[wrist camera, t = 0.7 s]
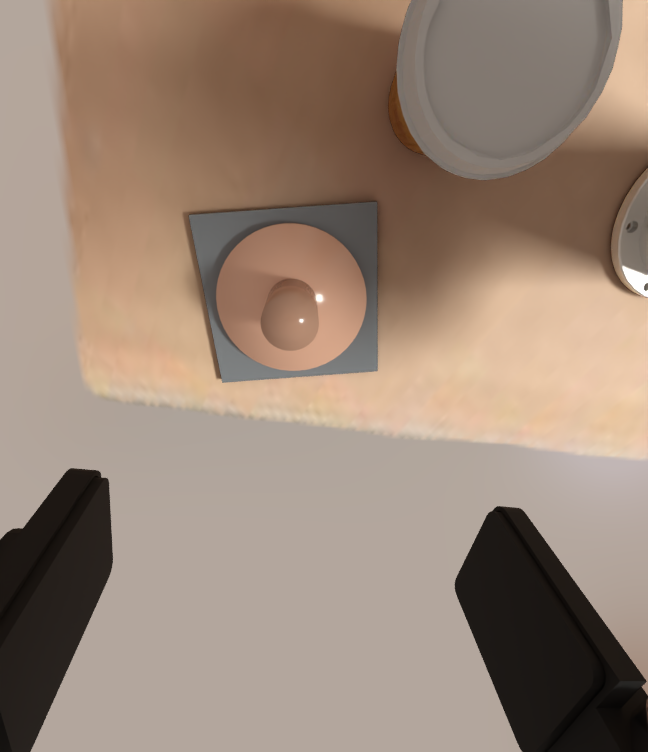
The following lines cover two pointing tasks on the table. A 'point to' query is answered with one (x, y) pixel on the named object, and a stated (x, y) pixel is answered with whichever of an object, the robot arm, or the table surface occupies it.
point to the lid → (291, 296)
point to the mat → (339, 220)
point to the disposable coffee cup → (499, 79)
